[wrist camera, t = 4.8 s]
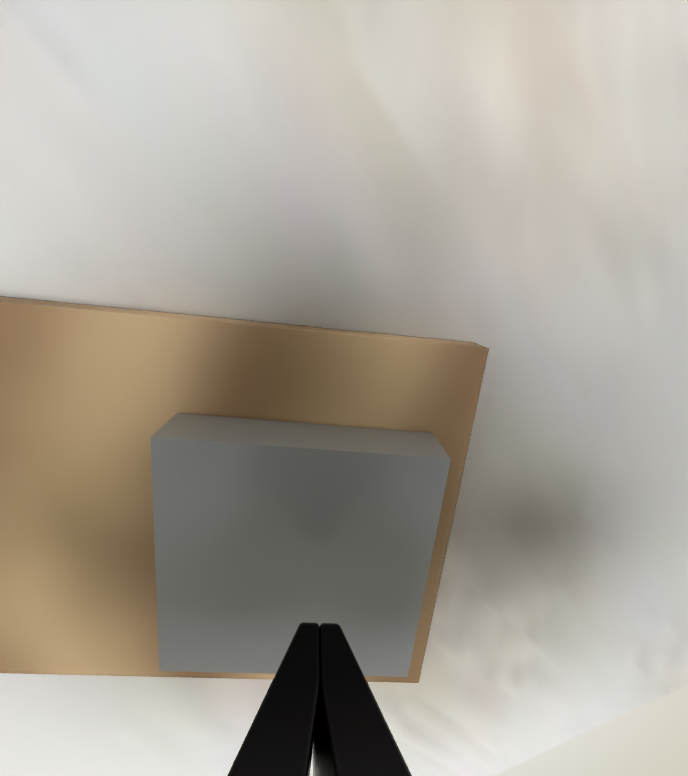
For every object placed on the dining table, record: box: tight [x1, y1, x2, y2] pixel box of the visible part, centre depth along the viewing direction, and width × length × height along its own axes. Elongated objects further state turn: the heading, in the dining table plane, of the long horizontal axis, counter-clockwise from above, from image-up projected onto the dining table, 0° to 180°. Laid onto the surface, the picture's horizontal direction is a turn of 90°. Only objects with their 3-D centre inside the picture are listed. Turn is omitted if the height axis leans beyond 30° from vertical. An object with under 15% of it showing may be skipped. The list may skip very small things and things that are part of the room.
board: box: [0, 296, 489, 683], centre depth 12 cm, size 14×12×1 cm
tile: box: [150, 413, 451, 677], centre depth 10 cm, size 2×7×7 cm
